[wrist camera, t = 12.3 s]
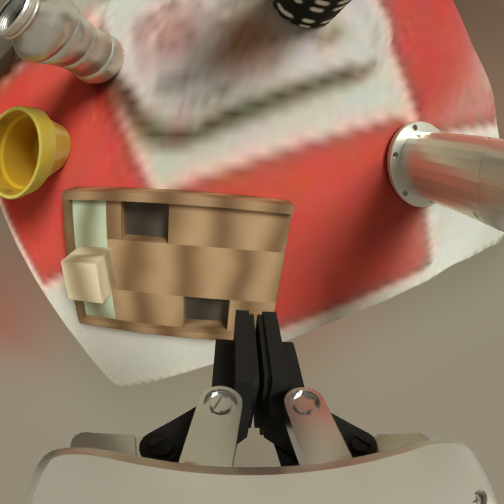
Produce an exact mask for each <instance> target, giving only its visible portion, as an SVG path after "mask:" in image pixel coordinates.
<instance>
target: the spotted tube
mask: <svg viewBox="0 0 504 504" xmlns="http://www.w3.org/2000/svg"><path fill="white" fill-rule="evenodd" d="M350 1H351V0H273V4H274V7H275V9H276V10H277V12H278V13H279V14H280V15H281V16H282V17H283V18H284V19H286V20H287V21H289V22H291V23H293V24H295V25H298V26H302V27H307V28H317V27H322V26H324V25H326V24H328V23H329V22H330V21H331V20H332V19H333V18H334V17H335V16H336V15H337V14H338V13H339V12H340V11H341V10H342V9H343V8H344V7H345V6H346V5H347V4H348V3H349V2H350Z"/></svg>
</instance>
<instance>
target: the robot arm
mask: <svg viewBox="0 0 504 504" xmlns="http://www.w3.org/2000/svg"><path fill="white" fill-rule="evenodd" d="M387 168H388V175H389V179H390V182H391V184H392V186H393V189H394V190H395V192H396V193H397V195H398V196H399V197H400V198H401V199H402V200H404V201H405V202H407V203H408V204H411V205H413V206H417V207H427V206H430V205H432V204H434V203H438V204H440V205H443V206H445V207H448V208H450V209H453V210H455V211H458V212H460V213H462V214H465V215H467V216H469V217H472V218H474V219H476V220H478V221H480V222H483V223H485V224H487V225H489V226H491V227H494V228H496V229H498V230H500V231H503V232H504V139H498V138H491V137H483V136H474V135H464V134H451V133H441V132H440V131H439V130H438V129H437V128H436V127H435V126H433V125H431V124H430V123H427V122H422V121H415V122H409V123H407V124H405V125H403V126H402V127H400V128H399V129H398V131H397V132H396V133H395V135H394V136H393V138H392V140H391V143H390V145H389V149H388V154H387ZM253 414H254V426H255V428H259V429H260V435H264V437H265V438H266V439H267V440H269V441H270V444H271V449H272V452H273V456H274V459H275V462H276V466H277V467H257V468H256V467H255V468H253V467H252V468H251V467H248V468H247V467H244V468H243V467H233V465H234V459H235V453H236V448H237V444H238V443H239V442H241V441H242V440H243V439H245V438H246V437H247V434H248V428H251V424H252V418H253ZM22 504H497V502H496V499H495V496H494V494H493V491H492V489H491V486H490V484H489V482H488V480H487V477H486V475H485V473H484V471H483V469H482V467H481V465H480V464H479V462H478V460H477V459H476V457H475V455H474V454H473V453H472V451H471V450H470V449H469V448H468V447H467V446H466V445H465V444H463V443H461V442H459V441H454V440H429V439H428V438H427V437H426V436H425V435H423V434H420V433H409V434H378V435H377V436H374V437H373V436H372V435H370V434H369V433H367V432H365V431H363V430H361V429H360V428H358V427H356V426H354V425H352V424H350V423H348V422H346V421H345V420H343V419H341V418H339V417H337V416H335V415H334V414H332V413H330V411H329V409H328V407H327V404H326V402H325V400H324V398H323V397H322V396H321V395H320V394H319V393H318V392H317V391H315V390H313V389H310V388H305V387H304V384H303V380H302V376H301V371H300V367H299V363H298V359H297V355H296V351H295V348H294V344H293V343H292V342H282V340H281V335H280V330H279V325H278V320H277V315H276V312H268V311H263V312H262V315H260V314H258V315H257V320H256V327H255V322H254V314H249V310H236V314H235V326H234V338H233V340H225V339H216V345H215V356H214V369H213V380H212V387H211V388H208V389H206V390H205V391H204V392H203V393H202V394H201V396H200V398H199V400H198V404H197V406H196V407H195V408H193V409H191V410H190V411H188V412H186V413H185V414H183V415H181V416H179V417H178V418H176V419H174V420H173V421H171V422H169V423H167V424H165V425H164V426H162V427H160V428H158V429H156V430H154V431H152V432H151V433H149V434H147V435H146V436H144V437H135V435H124V434H123V435H122V434H102V433H90V432H83V433H79V434H77V435H75V437H74V438H73V439H72V441H71V445H70V448H62V449H56V450H53V451H51V452H49V453H47V454H46V455H45V456H44V457H43V458H42V459H41V460H40V462H39V463H38V465H37V467H36V469H35V471H34V472H33V474H32V477H31V479H30V481H29V484H28V486H27V489H26V492H25V495H24V498H23V502H22Z"/></svg>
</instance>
